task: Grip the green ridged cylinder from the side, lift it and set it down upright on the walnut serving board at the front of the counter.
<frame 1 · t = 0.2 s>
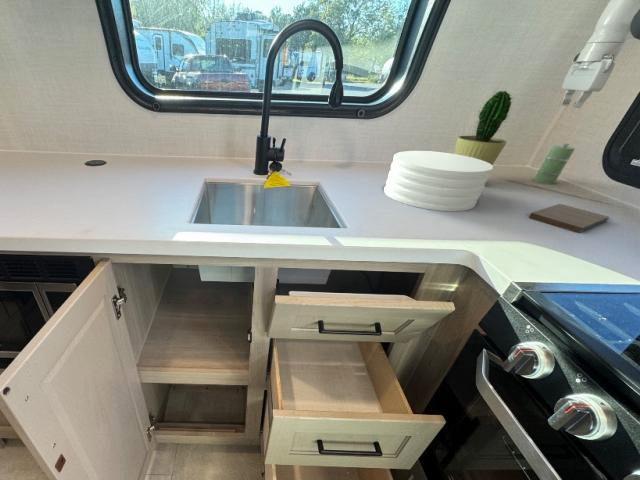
hand: (570, 106, 107), 26 cm above the worktop, tool pointing down, fingers open, 8 cm apart
green ridged cylinder: (542, 183, 123), on the worktop
walnut board: (567, 219, 92), on the worktop
plate stack: (427, 196, 107), on the worktop
potted cactus: (463, 181, 123), on the worktop
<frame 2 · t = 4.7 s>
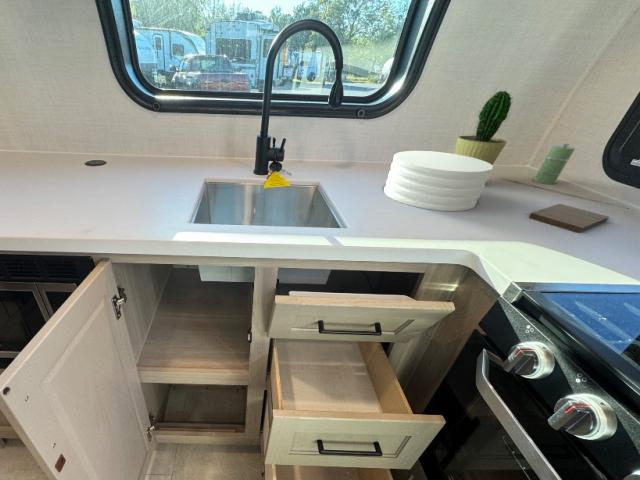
nothing on the worktop moved.
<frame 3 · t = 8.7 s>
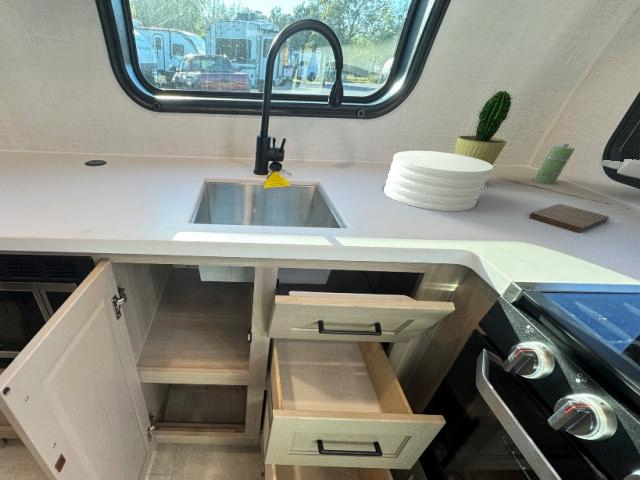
hand: (602, 160, 110), 11 cm above the worktop, tool horizontal, fingers open, 8 cm apart
nothing on the worktop moved.
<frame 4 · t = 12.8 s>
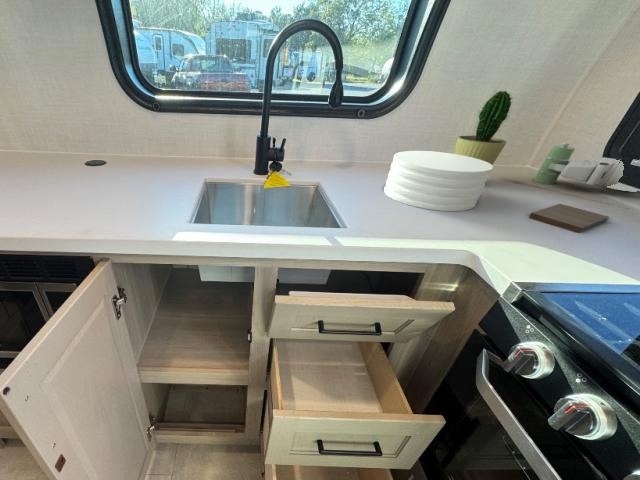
hand: (550, 164, 119), 7 cm above the worktop, tool horizontal, fingers closed on green ridged cylinder, 6 cm apart
green ridged cylinder: (542, 183, 123), on the worktop, touching gripper
everything else where it was.
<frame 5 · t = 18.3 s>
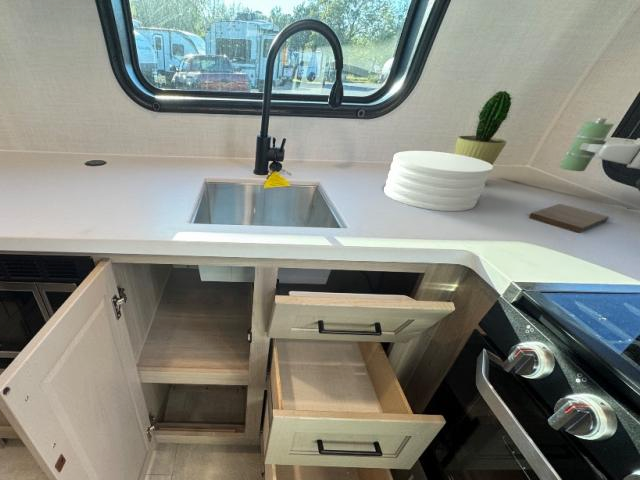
hand: (582, 144, 98), 17 cm above the worktop, tool horizontal, fingers closed on green ridged cylinder, 6 cm apart
green ridged cylinder: (571, 168, 102), point 10 cm above the worktop, touching gripper
everything else where it was.
when the fingers open (9 cm above the worktop, at t = 24.0 s): green ridged cylinder stays where it is, resting on walnut board.
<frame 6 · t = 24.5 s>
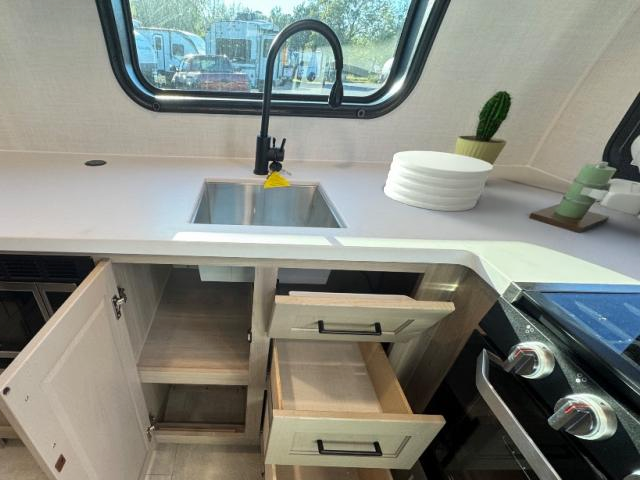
hand: (583, 186, 87), 9 cm above the worktop, tool horizontal, fingers open, 8 cm apart
green ridged cylinder: (568, 214, 91), point 1 cm above the worktop, touching walnut board
everything else where it was.
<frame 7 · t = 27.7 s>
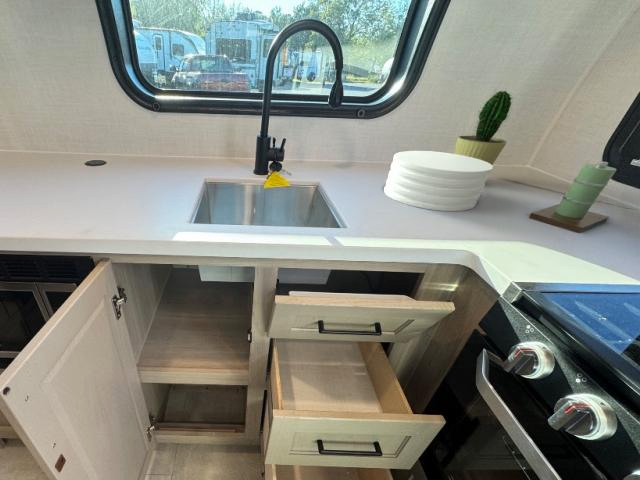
nothing on the worktop moved.
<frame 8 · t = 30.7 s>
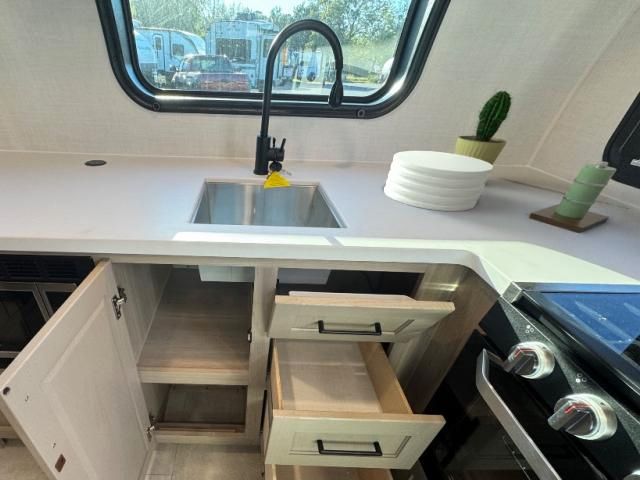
nothing on the worktop moved.
at the end: green ridged cylinder inside the target area on the walnut board (0.4 cm from its centre), point 1.5 cm above the walnut board's base; green ridged cylinder tilted 0°; the gripper is holding nothing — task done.
